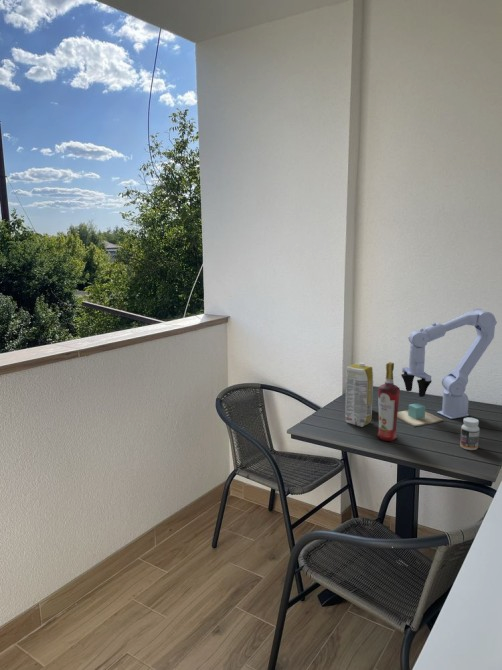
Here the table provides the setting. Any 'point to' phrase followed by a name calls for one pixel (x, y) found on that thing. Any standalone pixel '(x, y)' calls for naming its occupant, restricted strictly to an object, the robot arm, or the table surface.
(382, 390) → the liquor
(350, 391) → the juice carton
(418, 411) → the teal cube
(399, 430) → the table surface
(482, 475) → the table surface
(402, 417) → the birch board
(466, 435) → the pill bottle
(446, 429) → the table surface
